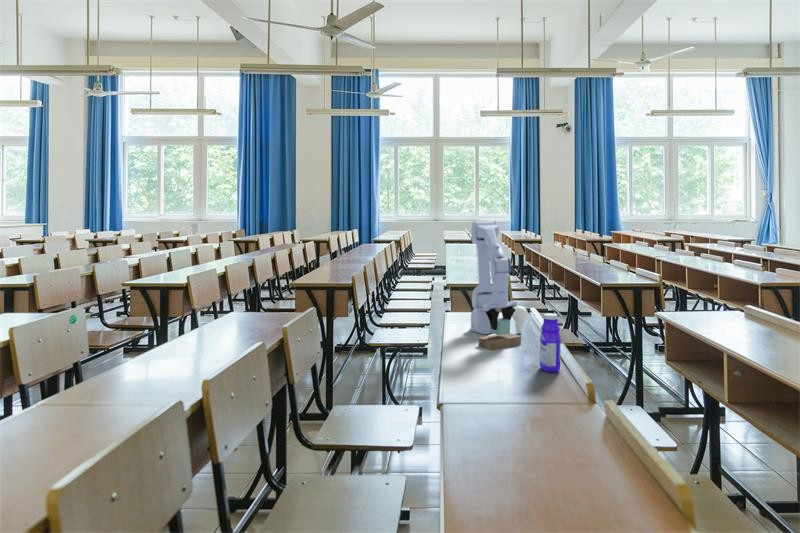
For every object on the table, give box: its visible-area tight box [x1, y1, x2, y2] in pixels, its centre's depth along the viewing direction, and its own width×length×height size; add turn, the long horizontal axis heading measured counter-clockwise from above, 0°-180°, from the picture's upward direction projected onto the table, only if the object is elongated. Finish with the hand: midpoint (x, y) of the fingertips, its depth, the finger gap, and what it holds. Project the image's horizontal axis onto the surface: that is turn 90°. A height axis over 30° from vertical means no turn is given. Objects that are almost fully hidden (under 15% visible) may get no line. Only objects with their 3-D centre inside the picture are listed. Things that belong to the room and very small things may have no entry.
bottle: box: [539, 312, 562, 373], centre depth 170 cm, size 7×6×17 cm
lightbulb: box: [511, 305, 529, 334], centre depth 217 cm, size 6×6×11 cm
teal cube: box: [489, 317, 511, 335], centre depth 200 cm, size 5×5×5 cm
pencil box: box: [478, 332, 522, 351], centre depth 201 cm, size 7×14×3 cm, turn 121°
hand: (499, 328), depth 200 cm, fingers closed on teal cube, 5 cm apart
